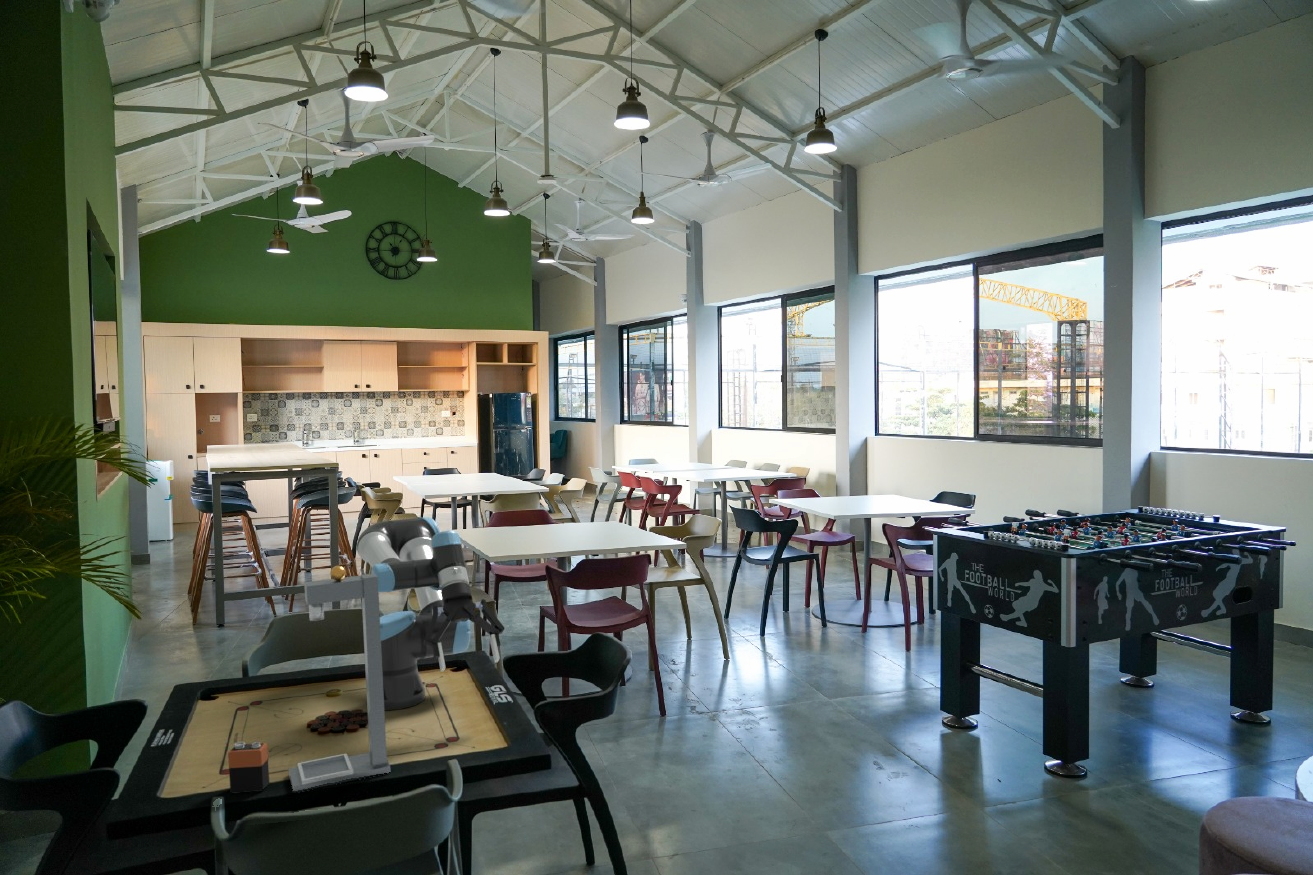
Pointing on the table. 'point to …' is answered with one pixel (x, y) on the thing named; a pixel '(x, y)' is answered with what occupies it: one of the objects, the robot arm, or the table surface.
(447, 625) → the robot arm
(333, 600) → the arbor press
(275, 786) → the table surface
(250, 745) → the battery
